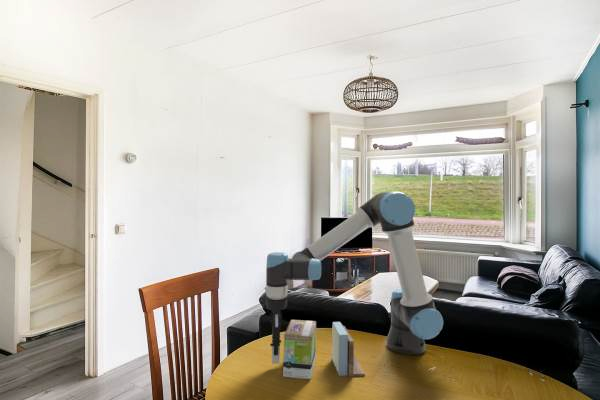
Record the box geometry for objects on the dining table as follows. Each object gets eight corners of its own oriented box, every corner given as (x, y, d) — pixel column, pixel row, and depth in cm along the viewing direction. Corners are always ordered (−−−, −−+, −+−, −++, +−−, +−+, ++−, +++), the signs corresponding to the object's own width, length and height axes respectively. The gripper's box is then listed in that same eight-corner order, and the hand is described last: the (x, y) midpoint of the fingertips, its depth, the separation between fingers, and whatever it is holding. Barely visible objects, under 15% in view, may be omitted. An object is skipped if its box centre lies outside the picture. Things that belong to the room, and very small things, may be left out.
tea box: (311, 380, 114) (312, 335, 113) (282, 377, 115) (282, 334, 115) (316, 359, 128) (316, 320, 128) (289, 357, 130) (290, 318, 130)
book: (339, 358, 129) (340, 321, 129) (347, 375, 117) (347, 334, 117) (331, 359, 129) (332, 322, 128) (338, 375, 117) (338, 334, 116)
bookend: (354, 356, 130) (354, 325, 130) (364, 375, 116) (365, 340, 116) (340, 357, 130) (340, 325, 130) (349, 376, 116) (349, 341, 116)
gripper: (266, 291, 127) (265, 354, 128) (265, 302, 114) (264, 372, 115) (286, 291, 128) (285, 353, 128) (288, 302, 115) (287, 371, 115)
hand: (275, 362), depth 121 cm, fingers closed
